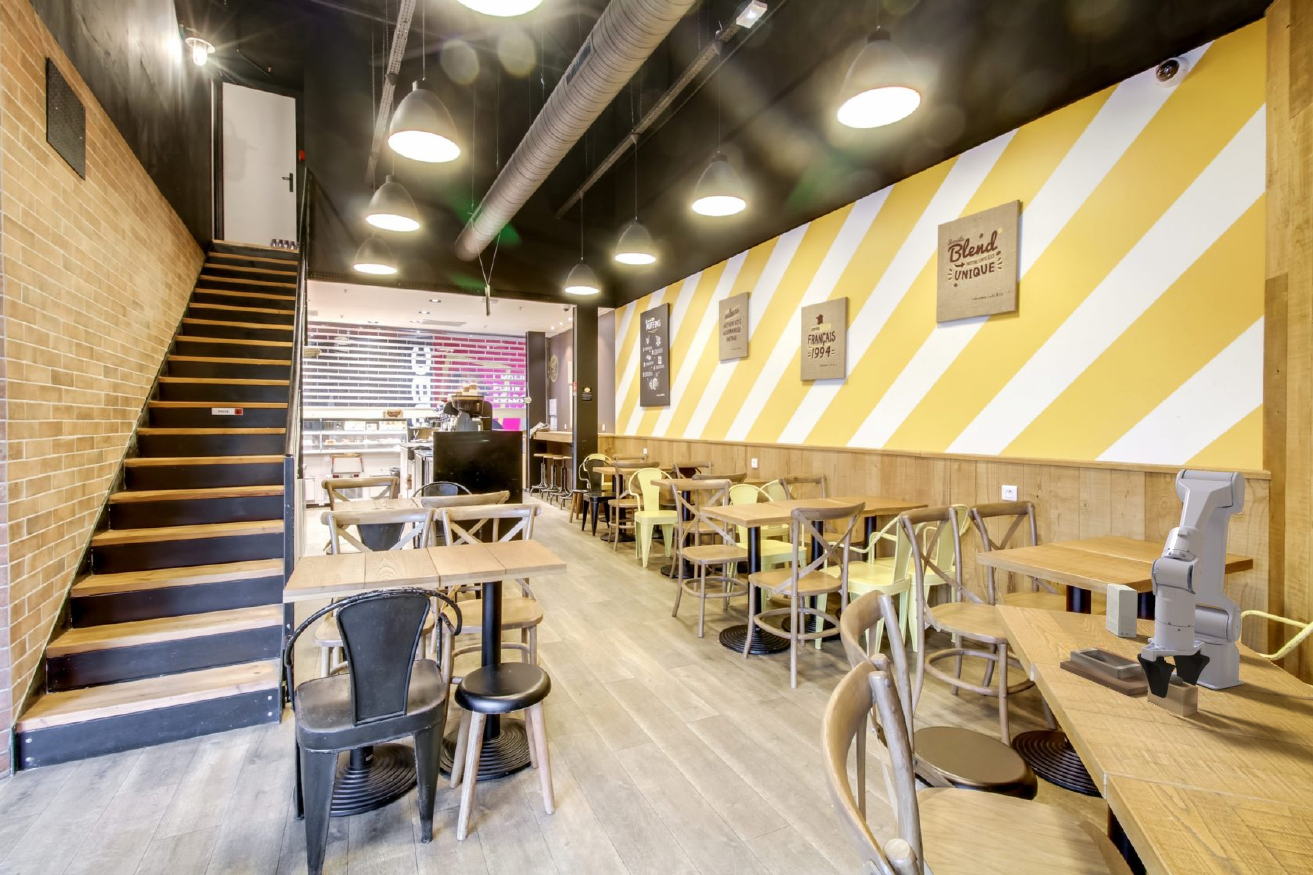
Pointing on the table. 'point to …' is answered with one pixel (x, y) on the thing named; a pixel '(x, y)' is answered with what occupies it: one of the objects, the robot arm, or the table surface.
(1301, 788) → the table surface
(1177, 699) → the knob block
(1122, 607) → the skincare box
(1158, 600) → the robot arm
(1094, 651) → the board
